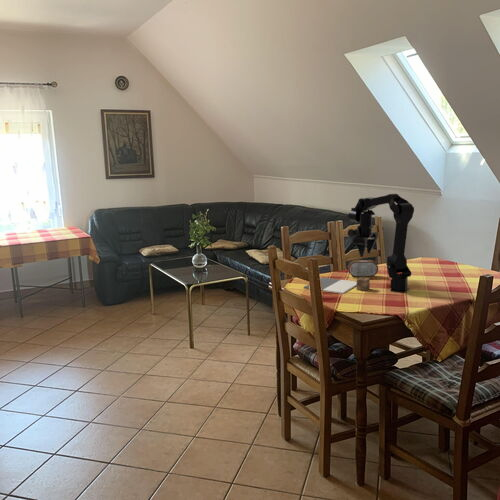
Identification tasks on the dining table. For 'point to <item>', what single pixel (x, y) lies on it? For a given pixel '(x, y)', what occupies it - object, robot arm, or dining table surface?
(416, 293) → the dining table surface
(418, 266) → the dining table surface
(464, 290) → the dining table surface
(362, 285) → the brown cylinder
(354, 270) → the tin
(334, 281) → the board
